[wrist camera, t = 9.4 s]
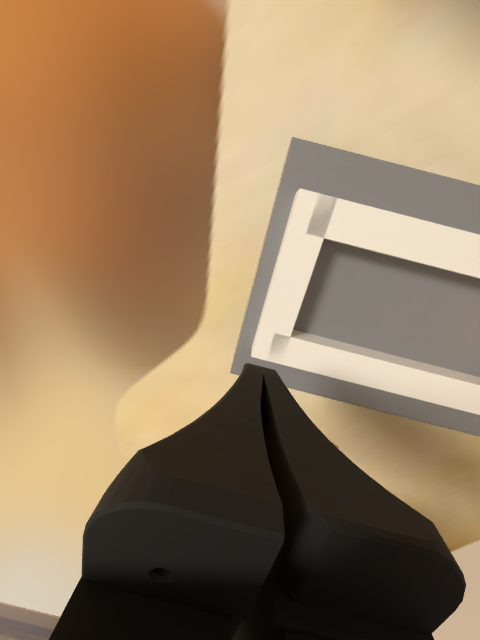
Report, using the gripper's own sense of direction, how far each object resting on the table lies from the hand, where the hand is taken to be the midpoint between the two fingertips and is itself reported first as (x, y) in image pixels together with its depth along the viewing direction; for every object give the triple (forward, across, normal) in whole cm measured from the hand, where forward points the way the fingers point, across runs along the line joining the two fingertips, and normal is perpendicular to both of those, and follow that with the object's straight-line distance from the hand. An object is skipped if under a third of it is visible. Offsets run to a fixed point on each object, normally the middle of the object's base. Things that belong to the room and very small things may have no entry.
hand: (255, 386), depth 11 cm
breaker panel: (+9, -11, -4) cm, 15 cm away
